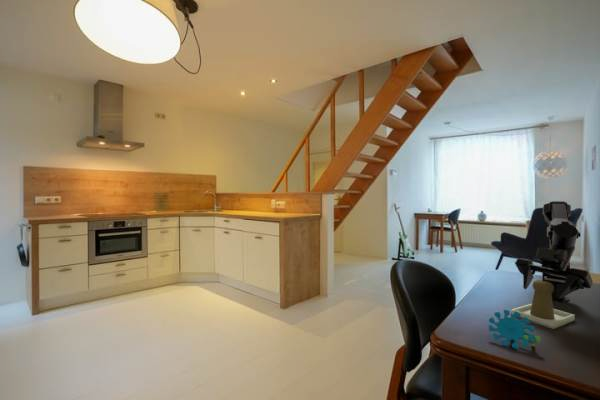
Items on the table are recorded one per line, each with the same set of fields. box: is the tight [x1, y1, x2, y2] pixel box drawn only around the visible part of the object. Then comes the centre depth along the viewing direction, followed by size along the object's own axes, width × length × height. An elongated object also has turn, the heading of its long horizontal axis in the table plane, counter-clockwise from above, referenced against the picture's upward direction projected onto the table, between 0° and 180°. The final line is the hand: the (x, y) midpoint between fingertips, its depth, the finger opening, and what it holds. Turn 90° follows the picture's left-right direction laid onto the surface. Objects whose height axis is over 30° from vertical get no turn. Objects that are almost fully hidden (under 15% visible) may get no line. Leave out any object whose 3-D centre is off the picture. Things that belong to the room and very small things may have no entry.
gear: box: [488, 309, 542, 350], centre depth 77 cm, size 11×6×10 cm
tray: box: [510, 303, 576, 330], centre depth 93 cm, size 14×11×2 cm
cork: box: [530, 279, 555, 320], centre depth 93 cm, size 6×6×11 cm
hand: (541, 292), depth 92 cm, fingers open, 9 cm apart
